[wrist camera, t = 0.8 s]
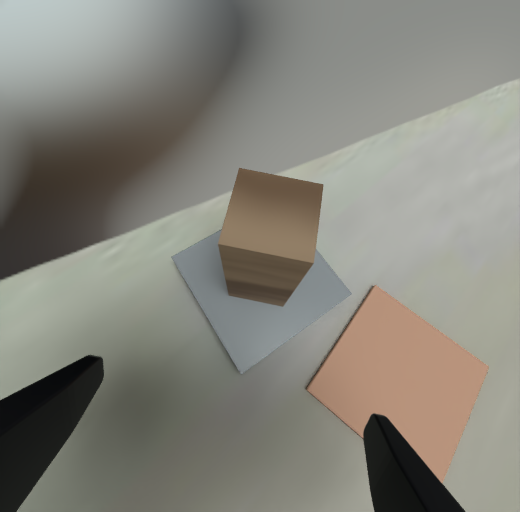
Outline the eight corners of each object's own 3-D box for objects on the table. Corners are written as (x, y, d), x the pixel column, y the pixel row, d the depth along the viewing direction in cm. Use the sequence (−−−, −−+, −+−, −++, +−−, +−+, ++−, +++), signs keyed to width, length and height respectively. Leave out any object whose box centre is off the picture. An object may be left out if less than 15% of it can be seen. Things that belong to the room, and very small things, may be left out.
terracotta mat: (430, 497, 19) (435, 500, 18) (305, 389, 21) (307, 389, 20) (484, 366, 22) (489, 366, 22) (373, 286, 25) (375, 285, 24)
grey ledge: (343, 299, 24) (351, 293, 22) (241, 373, 21) (240, 374, 19) (274, 210, 27) (276, 199, 25) (176, 265, 24) (171, 257, 22)
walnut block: (283, 306, 21) (313, 263, 12) (228, 295, 21) (217, 243, 12) (291, 256, 23) (323, 184, 14) (240, 246, 23) (239, 168, 14)
